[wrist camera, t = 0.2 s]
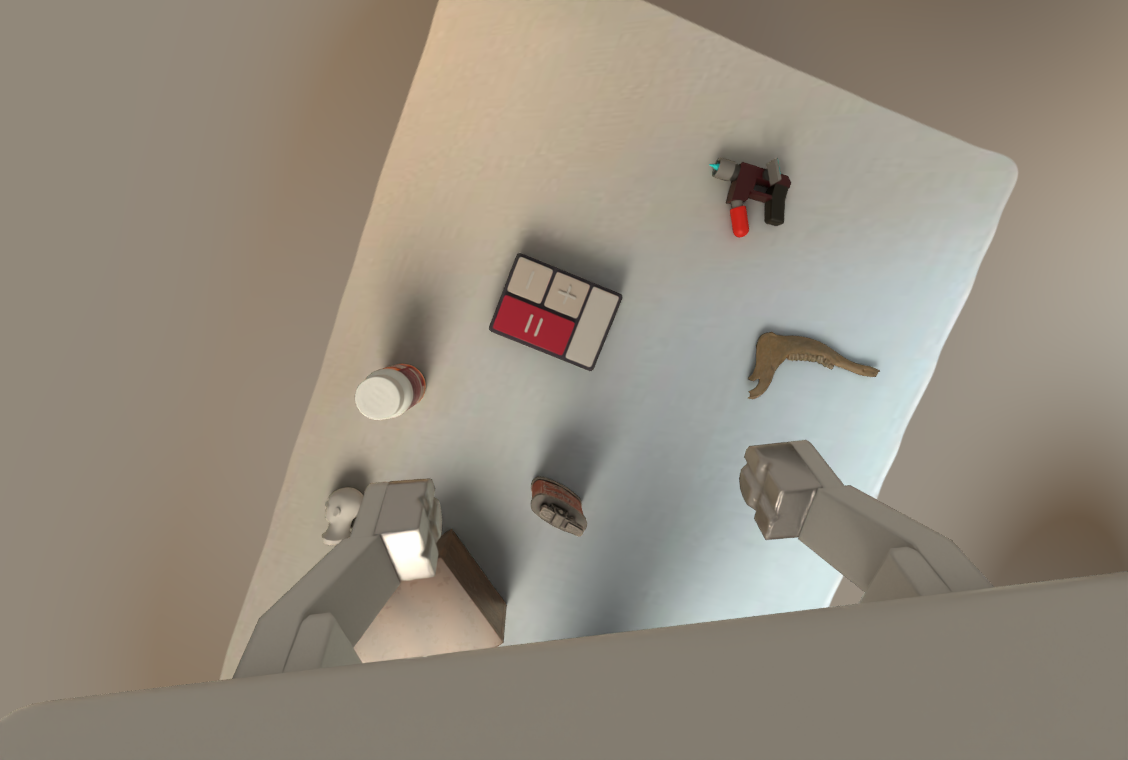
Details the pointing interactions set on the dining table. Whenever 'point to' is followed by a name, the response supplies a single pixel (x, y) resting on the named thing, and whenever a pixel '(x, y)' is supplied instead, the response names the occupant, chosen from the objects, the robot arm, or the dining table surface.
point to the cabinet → (438, 611)
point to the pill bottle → (390, 391)
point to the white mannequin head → (341, 514)
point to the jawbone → (796, 358)
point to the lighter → (557, 505)
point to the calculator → (555, 312)
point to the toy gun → (753, 191)
